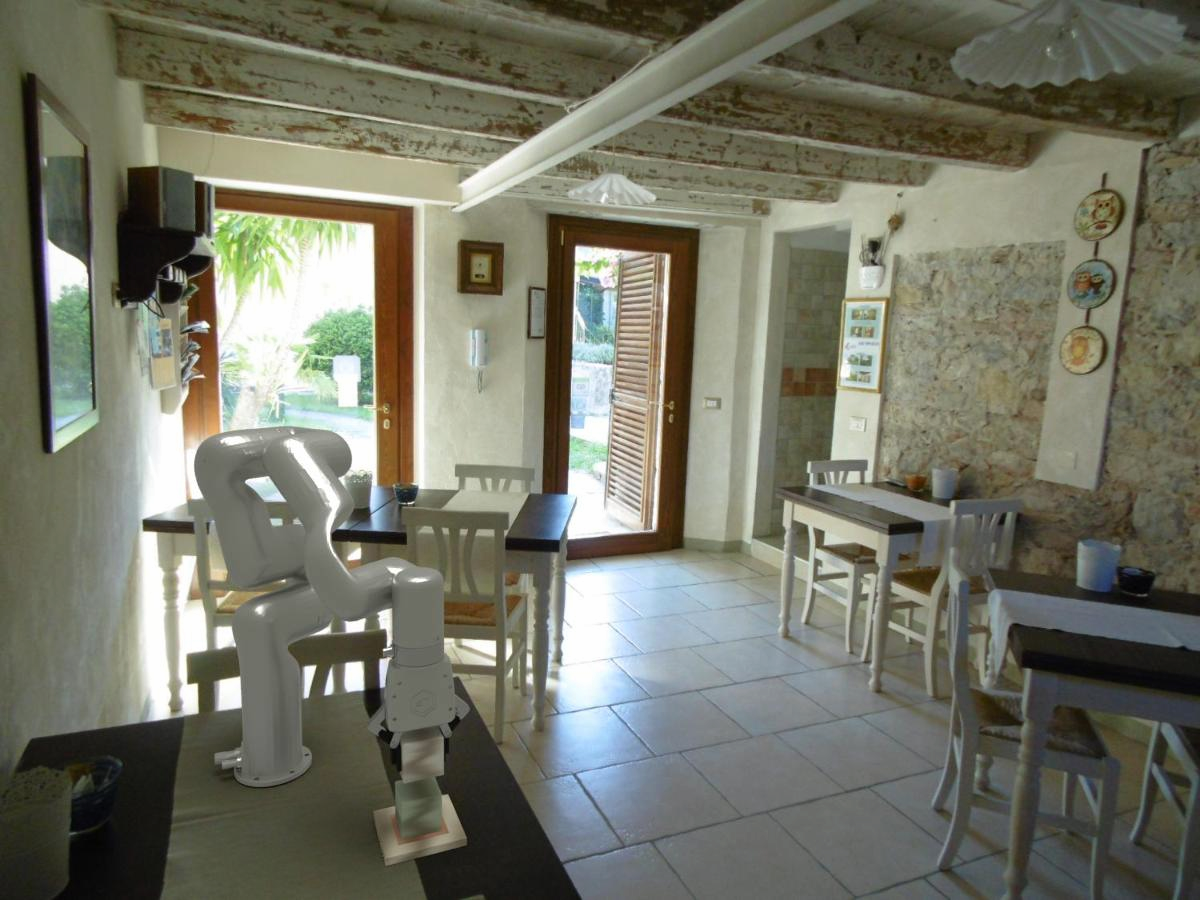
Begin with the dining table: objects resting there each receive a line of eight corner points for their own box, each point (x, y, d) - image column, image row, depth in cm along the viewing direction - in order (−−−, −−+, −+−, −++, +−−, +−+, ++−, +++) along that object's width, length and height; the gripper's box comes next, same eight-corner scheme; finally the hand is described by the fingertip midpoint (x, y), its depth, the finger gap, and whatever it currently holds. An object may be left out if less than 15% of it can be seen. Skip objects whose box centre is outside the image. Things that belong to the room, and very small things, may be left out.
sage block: (402, 840, 112) (401, 803, 112) (395, 816, 118) (395, 781, 117) (441, 830, 115) (441, 794, 114) (433, 808, 120) (433, 773, 119)
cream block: (403, 783, 111) (403, 745, 110) (396, 762, 116) (396, 726, 116) (443, 774, 114) (443, 737, 113) (435, 754, 119) (434, 719, 118)
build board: (385, 866, 109) (385, 857, 108) (373, 817, 119) (373, 810, 119) (466, 845, 114) (466, 837, 114) (447, 800, 124) (448, 793, 124)
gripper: (362, 670, 105) (364, 788, 108) (481, 651, 113) (481, 763, 115) (355, 650, 112) (358, 762, 115) (468, 634, 119) (468, 739, 122)
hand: (419, 761), depth 115 cm, fingers closed on cream block, 6 cm apart
